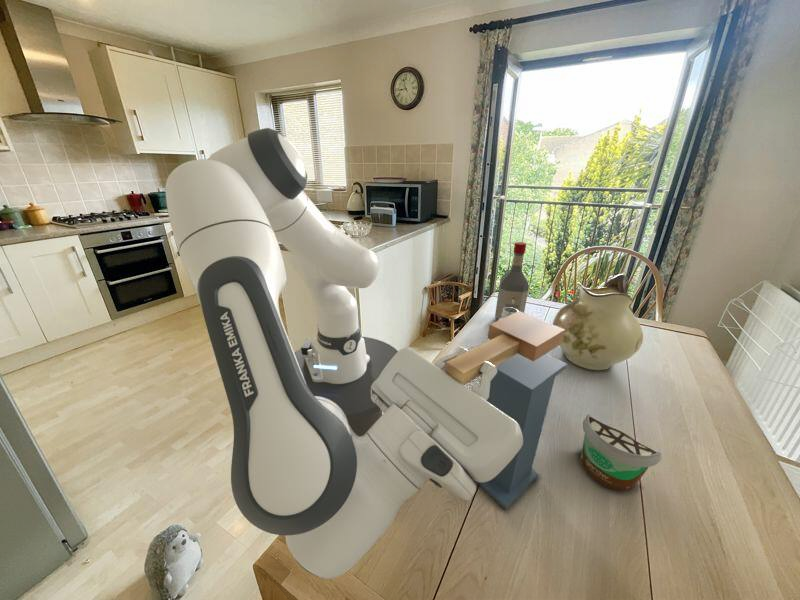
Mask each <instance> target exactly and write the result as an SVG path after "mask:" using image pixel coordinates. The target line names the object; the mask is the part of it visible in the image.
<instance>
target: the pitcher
mask: <svg viewBox="0 0 800 600" xmlns="http://www.w3.org/2000/svg"><path fill="white" fill-rule="evenodd" d="M576 285H577V287H578V289H579V293H580V295H579V297H577V298H576V299H575V300H572V301H571V302H569V303H567V304H566V305H564V306H562V307H561V308H560V309H559V310H558V311H557V313H556V314H555V316H554V319H553V321H552V324H553V325H555V326H558V327H560V328H563V329H565V333H564V337H563V341H562V344H560V345H559V347H560V348H561V349H562V351H563V353H564V356H565V357H566V359H567V360H568V361H570V362H571V363H572V364H574V365H576V366H578V367H581V368H583V369H586V370H592V371H605V370H608V369H610V367H612V366H613V365H617V364H619V363H620V364H621V363H622V362H625V361H627V360H629V359H630V358H632V357H634V355H636V354H637V353H638V352H639V350H640V348H641V347H642V344H643V342H644V332H643V328H642V326H641V324H640V322H639V320H638V318H637V317H636V316H635V314H634V311H633V308H631V306H630V305H631V304H632V303H633V297H631V295H629V294H627V293H628V290H629V288H630V287H629V286H630V281H629V278H628V277H627V276H626V275H625V274H623V273H619V274H616V275H615V276H613V277H611V278H610V279H609V280H608V281H607V282H606V283H605V284H604V285H603V286H602V287H596V288H589V287H585V286H583V285H582V284H581V282H579V281H577V282H576Z"/></svg>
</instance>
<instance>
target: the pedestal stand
mask: <svg viewBox="0 0 800 600" xmlns="http://www.w3.org/2000/svg"><path fill="white" fill-rule="evenodd" d="M567 367H568V363H566V362H564V361H562V360H561V359H558V358H556V357H554V356H552V355H550V354H548V353H546V354H545V355H543V356H542V357H540V358H538V359H537V360H535V361H534V362H533V361H531V360H529V359H527V358H525V357H523V356H522V355H520V354H516V355H514V356H513V357H511V358H509V359H508V360H506V361H504V362H502V363H501V364H499V365H497V366H496V368H497V374H496V375H495V376H494V378H493V379H492V380H491V381H490V391H489V398H488V399H487V400H486V401H487V402H489V403H490V404H492V405H493V406H495V407H496V408H498V409H499V410H500V411H502V412H503V413H505V414H506V415H508V416H509V417H511V418H512V419H514V420H515V421H516V422H517V423H518V424H519V426H520V428H521V431H522V435H523V445H522V447H521V448H520V450H519V451H518V453H517V454H516V455H515V456H514V458H513V459H512V460H511V461H510V462H509V463H508V465H507V466H506V467H505V468H504V469H503V470H502V471H501V472H500V473H499V474H498V475H497V476H496V477H494V478H493V479H491V480H490V481H487V482H477V481H475V482H476V484H477V485H479V486H480V487H481V488H482V489H483V490H484V491H485V492H486V493H487V494H488V495H489V496H490V497H491V498H492V499H494V501H495V502H496V503H498V504H499V505H500V506H501V507H502V508H503V510H507V509H508V507H510V506H511V505H512V504H513V502H515V500H516V499H518V497H519V496H520V495H522V493H523V492H524V491H525V490H526V489H528V487H529V486H530V485H531V484H532V483H533V482H534V480H536V479H537V478H538V475H539V473H538V472H537V471H536V470H534V469H533V465H534V460H535V457H536V454H537V450H538V446H539V442H540V438H541V434H542V432H543V431H542V430H543V426H544V423H545V418H546V414H547V411H548V407H549V403H550V399H551V395H552V391H553V387H554V384H555V380H556V378H557V376H559V375H560V374H562V372H564V371H565V370H567ZM481 378H482V377H481V376H480V379H481ZM480 384H481V381H480V382H479V385H480Z"/></svg>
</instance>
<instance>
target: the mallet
mask: <svg viewBox="0 0 800 600" xmlns="http://www.w3.org/2000/svg"><path fill="white" fill-rule="evenodd" d="M487 332H488V333H487V339H488V341H485V342H484V343H482V344H480V345H478V346H476V347H473V348H472V349H469V350H468V351H467V352H465V353H464V354H462V355H460V356H458V357H456V358H454V359H452V360H450V361H448V362H446V373H447V374H448V375H450V376H451V377H453V378H454V379H456V380H457V381H459V382H460V383H461V384H463V385H464V386H466V384H468V383H470V382H472V381H473V380H475V379H477V378H478V377H481V376H480V373H479V371H478V369H479V368H480V366H482V365H483V363H484V362H485V361H487V362H489V363H491V364H493V365H494V366H497V365H499V364H501V363H502V362H504V361H506V360H508V359H509V358H511V357H513V356H514V355H516V354H520V355H522V356H523V357H525V358H527V359H529V360H531V361H533V362H534V361H535V360H537V359H538V358H540V357H542V356H543V355H545V354H548V353H550V352H551V351H553V350H554V349H555V348H558V346H559V347H560V344H562V341H563V337H564V333H565V329H563V328H560V327H558V326H555V325H553V323H550V322H548V321H545V320H543V319H540V318H537V317H535V316H532V315H530V314H528V313H525V312H524V313H523V312H520V311H518V312H516V313H514V314H511V315H509V316H507V317H505V318H503V319H500V320H498V321H494V322H492V323H490V324H489V325H488V331H487Z"/></svg>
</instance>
